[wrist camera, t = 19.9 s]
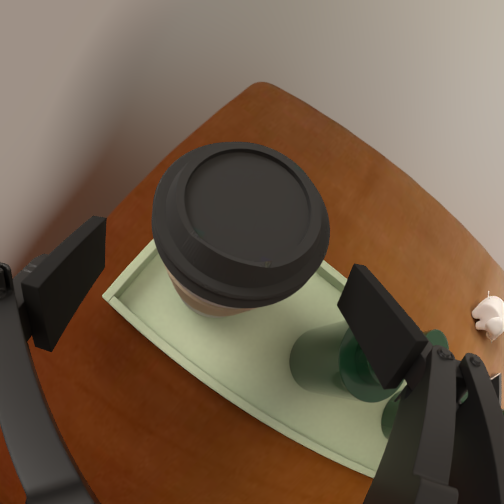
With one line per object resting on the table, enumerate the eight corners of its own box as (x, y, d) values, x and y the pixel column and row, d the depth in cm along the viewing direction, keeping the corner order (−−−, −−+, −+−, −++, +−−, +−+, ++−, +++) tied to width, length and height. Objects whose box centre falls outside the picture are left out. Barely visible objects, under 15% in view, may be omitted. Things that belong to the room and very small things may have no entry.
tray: (107, 300, 24) (101, 296, 22) (213, 187, 30) (215, 176, 28) (393, 485, 23) (404, 489, 21) (447, 377, 29) (459, 377, 27)
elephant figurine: (475, 353, 31) (506, 348, 26) (461, 306, 33) (492, 296, 28) (492, 332, 34) (519, 325, 28) (478, 289, 36) (506, 278, 30)
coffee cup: (188, 219, 28) (203, 98, 14) (275, 256, 28) (357, 165, 15) (147, 306, 24) (108, 241, 10) (243, 346, 25) (323, 330, 11)
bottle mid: (275, 370, 25) (374, 376, 11) (312, 314, 27) (420, 270, 14) (327, 404, 24) (443, 424, 11) (359, 350, 27) (476, 330, 14)
